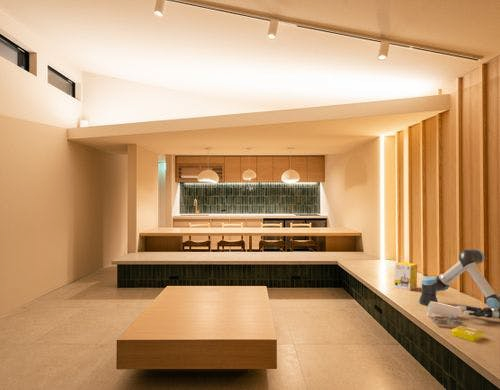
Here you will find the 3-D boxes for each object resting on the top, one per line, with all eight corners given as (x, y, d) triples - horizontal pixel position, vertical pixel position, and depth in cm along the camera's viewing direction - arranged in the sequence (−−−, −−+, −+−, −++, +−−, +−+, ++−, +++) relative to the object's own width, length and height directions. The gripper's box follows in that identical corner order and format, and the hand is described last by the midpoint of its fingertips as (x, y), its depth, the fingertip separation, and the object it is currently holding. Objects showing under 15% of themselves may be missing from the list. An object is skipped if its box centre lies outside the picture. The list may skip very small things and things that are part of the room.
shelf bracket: (425, 315, 284) (428, 300, 285) (455, 322, 285) (458, 307, 285) (428, 317, 279) (432, 302, 279) (459, 325, 280) (462, 309, 280)
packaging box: (394, 287, 375) (395, 263, 375) (401, 285, 386) (402, 261, 386) (409, 290, 363) (410, 265, 363) (416, 288, 374) (417, 264, 374)
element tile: (484, 338, 240) (485, 331, 240) (474, 343, 231) (474, 335, 232) (461, 331, 252) (461, 324, 252) (450, 335, 244) (450, 328, 244)
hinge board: (430, 318, 277) (430, 313, 277) (459, 321, 273) (459, 315, 273) (439, 327, 257) (439, 321, 257) (469, 330, 253) (469, 324, 254)
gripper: (498, 323, 263) (466, 320, 268) (483, 312, 288) (454, 310, 292) (498, 313, 264) (467, 310, 268) (483, 303, 288) (454, 301, 292)
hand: (460, 310), depth 280 cm, fingers open, 13 cm apart
